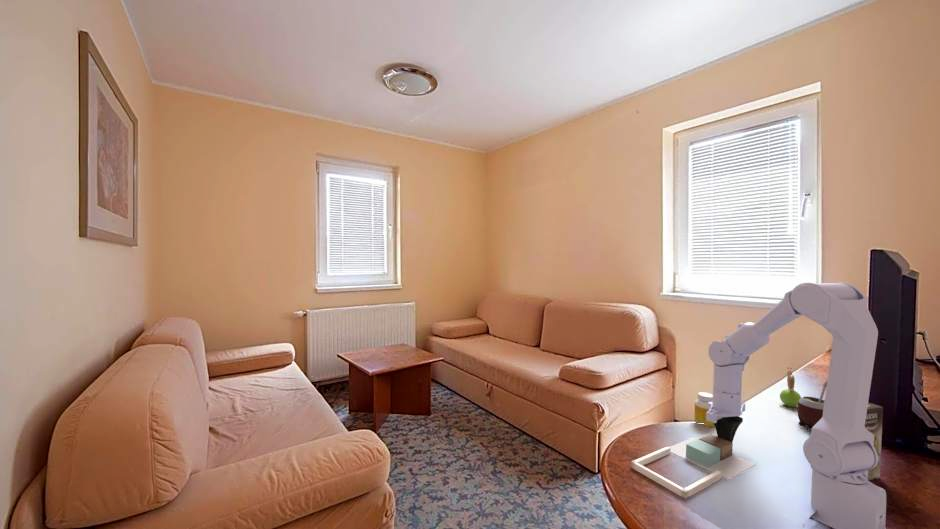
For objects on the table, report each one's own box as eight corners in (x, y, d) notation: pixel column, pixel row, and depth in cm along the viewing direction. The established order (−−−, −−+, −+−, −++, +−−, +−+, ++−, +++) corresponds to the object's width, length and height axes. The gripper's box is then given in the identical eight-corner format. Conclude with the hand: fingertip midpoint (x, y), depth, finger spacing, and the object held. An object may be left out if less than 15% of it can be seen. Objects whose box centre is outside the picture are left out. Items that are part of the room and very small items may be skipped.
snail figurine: (798, 404, 123) (800, 368, 123) (803, 411, 118) (804, 373, 117) (777, 400, 126) (779, 365, 126) (781, 407, 121) (782, 370, 120)
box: (721, 485, 79) (721, 472, 79) (685, 506, 72) (685, 491, 72) (666, 457, 89) (667, 446, 89) (630, 473, 82) (631, 461, 82)
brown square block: (732, 455, 88) (732, 442, 88) (721, 460, 85) (721, 448, 85) (709, 445, 92) (710, 433, 92) (698, 450, 90) (699, 438, 89)
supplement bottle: (699, 422, 109) (700, 389, 108) (719, 429, 104) (721, 395, 104) (690, 426, 106) (691, 393, 105) (710, 434, 101) (712, 399, 101)
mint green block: (720, 461, 85) (720, 448, 85) (708, 467, 82) (708, 454, 82) (697, 451, 89) (698, 439, 89) (685, 456, 87) (686, 444, 87)
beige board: (755, 470, 84) (755, 464, 84) (728, 486, 78) (728, 479, 78) (692, 442, 96) (692, 437, 96) (664, 455, 90) (664, 448, 90)
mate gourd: (796, 427, 106) (798, 375, 106) (797, 418, 112) (799, 369, 112) (833, 436, 101) (835, 382, 101) (831, 426, 107) (833, 375, 107)
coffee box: (853, 484, 79) (856, 410, 79) (818, 468, 86) (821, 399, 85) (881, 478, 82) (885, 406, 81) (845, 462, 88) (848, 395, 88)
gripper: (724, 380, 98) (722, 431, 98) (693, 389, 90) (691, 444, 91) (755, 389, 92) (753, 443, 92) (725, 399, 84) (723, 458, 85)
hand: (725, 444), depth 91 cm, fingers closed
